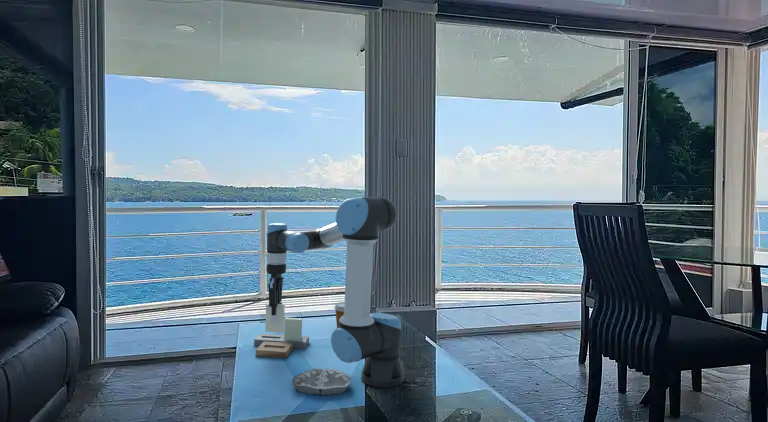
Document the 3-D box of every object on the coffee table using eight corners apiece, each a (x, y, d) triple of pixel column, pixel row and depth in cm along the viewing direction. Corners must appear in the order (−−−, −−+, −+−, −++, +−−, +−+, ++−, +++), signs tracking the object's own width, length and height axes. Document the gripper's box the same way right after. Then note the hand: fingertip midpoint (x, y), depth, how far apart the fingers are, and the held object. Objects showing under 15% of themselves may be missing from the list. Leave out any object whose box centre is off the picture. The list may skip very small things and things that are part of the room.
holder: (286, 358, 201) (286, 351, 201) (255, 356, 202) (255, 349, 202) (292, 349, 211) (292, 343, 211) (263, 347, 212) (263, 341, 212)
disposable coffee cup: (353, 334, 233) (354, 307, 232) (332, 333, 234) (333, 306, 233) (355, 327, 243) (356, 302, 242) (334, 326, 243) (335, 301, 242)
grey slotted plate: (304, 348, 212) (304, 342, 212) (254, 345, 214) (254, 339, 214) (308, 342, 220) (309, 336, 220) (260, 339, 222) (260, 333, 222)
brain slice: (351, 377, 186) (351, 369, 186) (349, 398, 169) (349, 389, 169) (296, 375, 186) (296, 367, 185) (288, 396, 169) (289, 388, 168)
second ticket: (300, 345, 216) (301, 319, 215) (284, 344, 216) (284, 318, 215) (301, 344, 217) (302, 318, 216) (285, 343, 218) (285, 317, 217)
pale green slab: (282, 332, 205) (283, 305, 204) (265, 331, 206) (265, 304, 205) (283, 331, 207) (284, 304, 206) (266, 330, 207) (267, 303, 206)
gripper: (272, 259, 211) (271, 316, 213) (261, 265, 197) (259, 326, 199) (290, 260, 211) (289, 317, 213) (280, 267, 196) (279, 328, 198)
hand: (274, 321), depth 206 cm, fingers closed on pale green slab, 2 cm apart
